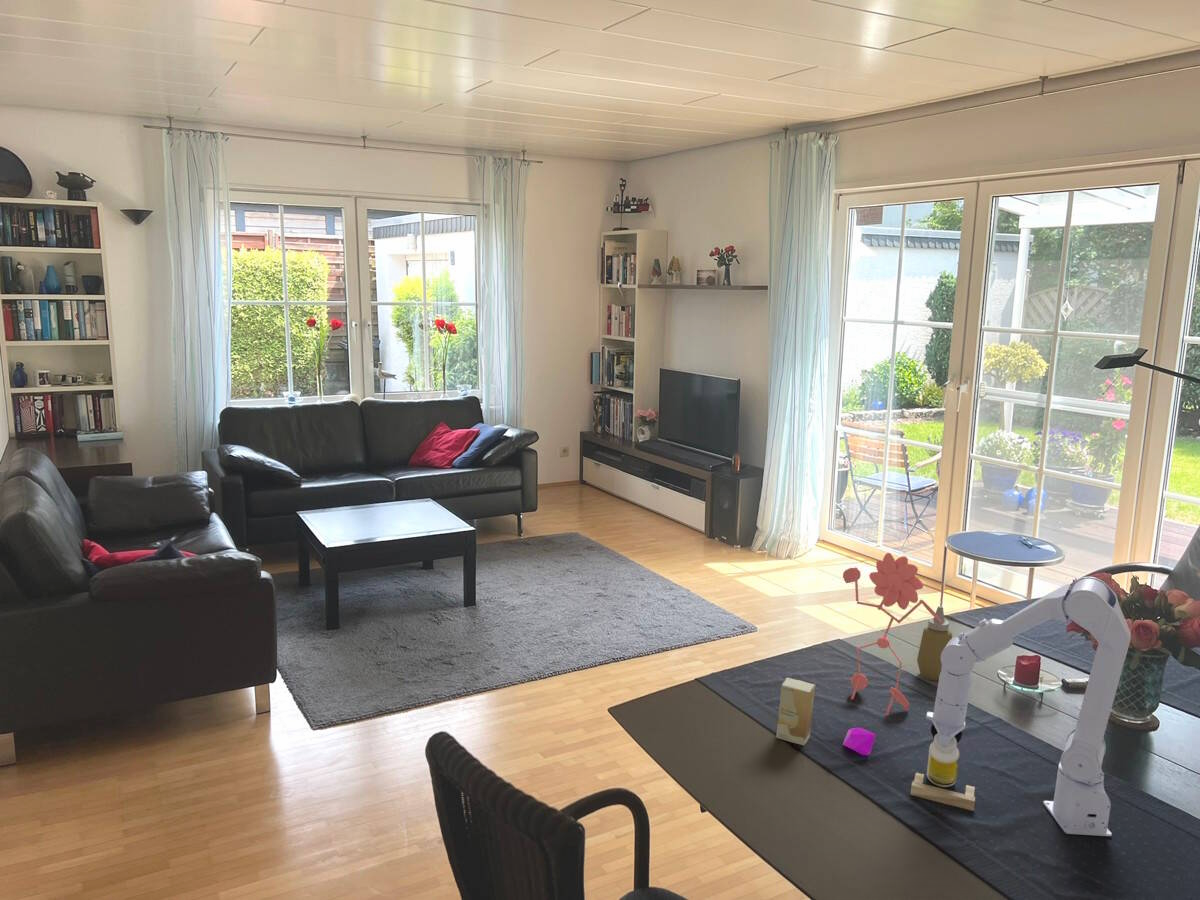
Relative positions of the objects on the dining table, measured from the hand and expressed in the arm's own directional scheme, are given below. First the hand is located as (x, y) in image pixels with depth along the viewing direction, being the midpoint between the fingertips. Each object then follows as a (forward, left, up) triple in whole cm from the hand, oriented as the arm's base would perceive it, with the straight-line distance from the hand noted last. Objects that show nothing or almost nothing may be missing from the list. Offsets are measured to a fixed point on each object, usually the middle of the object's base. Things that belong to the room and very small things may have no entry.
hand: (941, 761), depth 172 cm
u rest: (-8, +2, -3) cm, 8 cm away
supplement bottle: (-2, 0, -2) cm, 3 cm away
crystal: (+8, +14, -3) cm, 16 cm away
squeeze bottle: (+45, -12, -3) cm, 47 cm away
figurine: (+31, +3, -3) cm, 31 cm away
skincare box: (+11, +27, -3) cm, 29 cm away
